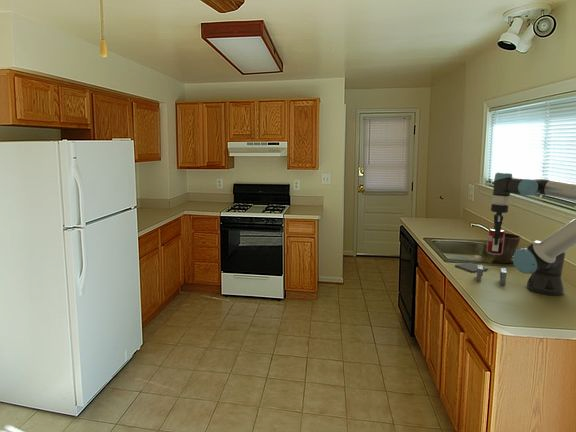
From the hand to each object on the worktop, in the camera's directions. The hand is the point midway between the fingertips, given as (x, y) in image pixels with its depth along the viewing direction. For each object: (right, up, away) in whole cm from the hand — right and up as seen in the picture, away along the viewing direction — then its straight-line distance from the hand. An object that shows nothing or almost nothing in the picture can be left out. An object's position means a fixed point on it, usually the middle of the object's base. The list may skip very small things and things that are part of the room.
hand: (494, 249), depth 206 cm
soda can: (0, -2, 0) cm, 2 cm away
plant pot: (+25, -11, +40) cm, 49 cm away
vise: (-1, -16, +3) cm, 17 cm away
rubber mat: (-1, -13, +23) cm, 27 cm away
